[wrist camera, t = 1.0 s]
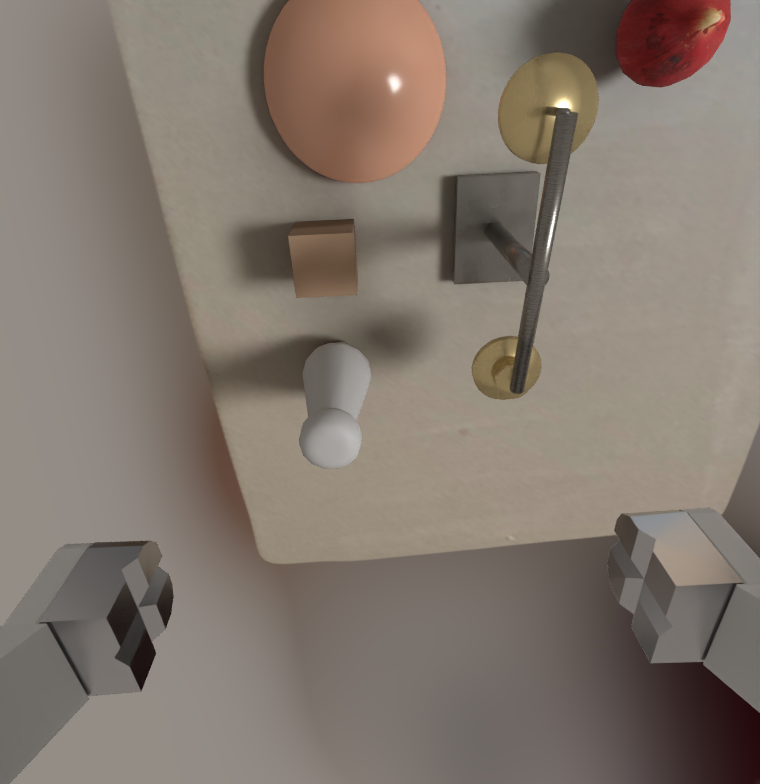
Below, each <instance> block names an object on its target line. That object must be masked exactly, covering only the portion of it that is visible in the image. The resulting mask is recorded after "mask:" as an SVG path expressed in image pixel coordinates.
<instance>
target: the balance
mask: <svg viewBox="0 0 760 784" xmlns="http://www.w3.org/2000/svg"><path fill="white" fill-rule="evenodd" d="M598 102H599V97H598V87H597V83H596V80H595V78H594V75H593V73H592V72H591V70H590V68H589V67H588V66H587V65H586V64H585V63H584V62H583V61H582V60H581V59H579V58H577V57H575V56H573V55H571V54H567V53H559V52H555V53H548V54H544V55H540V56H537V57H535V58H533V59H531V60H529V61H528V62H526V63H525V64H524V65H522V66H521V67H520V68H519V69H518V70H517V71H516V72H515V73H514V74H513V76H512V77H511V78H510V80H509V81H508V83H507V85H506V87H505V89H504V91H503V93H502V96H501V99H500V103H499V109H498V125H499V130H500V134H501V137H502V139H503V141H504V143H505V145H506V146H507V147H508V149H509V150H510V151H511V152H512V153H513V154H514V155H516V156H517V157H519V158H521V159H523V160H525V161H528V162H531V163H536V164H546V163H547V169H546V175H545V181H544V187H543V193H542V199H541V205H540V211H539V217H538V222H537V228H536V234H535V240H534V246H533V237H534V228H535V219H536V210H537V201H538V192H539V183H540V174H541V173H539V172H537V171H535V172H516V173H496V174H476V175H457V176H456V181H455V214H454V247H453V279H452V280H453V283H454V284H470V283H489V282H509V281H524V282H525V284H526V285H527V287H526V293H525V299H524V305H523V311H522V317H521V323H520V329H519V335H518V337H515V336H505V337H500V338H497V339H494V340H492V341H490V342H489V343H487V344H486V345H484V346H483V347H482V348H481V349H480V350H479V352H478V353H477V354H476V356H475V358H474V360H473V364H472V376H473V379H474V382H475V384H476V386H477V388H478V389H479V390H480V391H481V392H482V393H483V394H485V395H486V396H488V397H491V398H494V399H502V400H505V399H515V398H519V397H521V396H523V395H524V394H525V393H527V391H528V390H529V389H530V388H532V386H533V385H534V384H535V383H536V381H537V380H538V378H539V375H540V373H541V359H540V356H539V354H538V352H537V350H536V349H535V347H534V346H533V343H534V338H535V333H536V328H537V323H538V318H539V313H540V307H541V302H542V297H543V292H544V287H545V285H546V283H547V282H548V280H549V271H548V266H549V261H550V256H551V251H552V246H553V241H554V236H555V231H556V225H557V220H558V215H559V210H560V205H561V200H562V195H563V190H564V184H565V179H566V174H567V169H568V164H569V159H570V154H571V153H572V152H573V151H575V150H576V149H577V148H578V147H579V146H580V145H581V144H582V142H583V141H584V140H585V138H586V137H587V136H588V134H589V132H590V130H591V128H592V126H593V124H594V121H595V118H596V115H597V110H598ZM532 246H533V252H532Z"/></svg>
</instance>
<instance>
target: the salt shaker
mask: <svg viewBox="0 0 760 784" xmlns="http://www.w3.org/2000/svg"><path fill="white" fill-rule="evenodd" d="M370 379H371V371H370V367H369V362H368V360H367V359H366V357H365V356H364V355H363V354H362V353H361V352H360V351H359V350H358V349H357V348H355V347H352V346H350V345H348V344H347V343H345V342H344V341H341V342H336V343H328V344H325V345H322V346H320V347H318V348H316V349H315V350H314V351H313V352H312V353H311V355H310V356H309V357H308V358H307V360H306V361H305V366H304V370H303V382H304V389H305V397H306V404H307V412H308V418H307V419H306V420H305V421H304V423H303V425H302V429H301V433H300V437H299V444H300V447H301V450H302V453H303V456H304V457H305V458H306V459H307V460H308V461H309V462H310V463H312V464H314V465H316V466H319V467H322V468H330V469H337V468H340V467H343V466H345V465H348V464H350V463H351V462H352V461H353V460H354V459H355V458H356V457H357V456H358V452H359V449H360V445H361V442H362V435H361V431H360V427H359V423H358V422H357V419H358V416H359V413H360V410H361V407H362V404H363V402H364V399H365V396H366V393H367V390H368V387H369V383H370Z"/></svg>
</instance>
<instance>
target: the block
mask: <svg viewBox="0 0 760 784" xmlns="http://www.w3.org/2000/svg"><path fill="white" fill-rule="evenodd" d="M288 240H289V247H290V255H291V262H292V270H293V277H294V285H295V292H296V298H302V297H323V296H343V295H357V282H358V273H357V258H356V243H355V228H354V219H345V220H325V221H305V222H295V224H294V226H293V228H292V230H291V231H290V233H289V235H288Z"/></svg>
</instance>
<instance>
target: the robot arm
mask: <svg viewBox="0 0 760 784" xmlns="http://www.w3.org/2000/svg"><path fill="white" fill-rule="evenodd" d="M614 531H615V533H616V534H617V536H618V538H619V541H618V542H617V543H616V544H615V545H614V546H613V547H611V548H610V551H609V556H608V562H607V565H608V574H609V580H610V583H611V587H612V590H613V592H614V594H615V596H616V598H617V600H618V602H619V604H621V605H622V606H624V607H625V608H626V609H628V610H629V611H630V612H632V613H633V614H634V617H633V622H632V625H631V627H632V629H633V631H634V633H635V635H636V637H637V638H638V640H639V642H640V644H641V646H642V648H643V650H644V652H645V654H646V655H647V658H648V659H649V661H650V663H671V662H672V663H673V662H704V663H703V665H704V666H706V667H707V668H708V669H709V670H710V671H712V672H713V673H714V674H715V675H716V676H717V677H719V678H720V679H721V680H722V681H723V682H724V683H726V684H727V685H728V686H729V687H730V688H731V689H733V690H734V691H735V692H736V693H737V694H738V695H740V696H741V697H742V698H743V699H744V700H746V701H747V702H748V703H749V704H750V705H752V706H753V707H754V708H755V709H756V710H757V711H758V712H760V559H759V557H758V556H757V555H756V554H755V553H754V552H753V551H752V550H751V548H749V546H747V544H746V543H745V542H744V541H743V540H742V539H741V537H740V536H739V535H738V534H737V533H736V532H735V531H734V529H733V528H732V527H731V526H730V525H729V524H728V523H727V522H726V521H725V520H724V518H723V517H722V516H721V515H720V514H719V513H718V512H717V511H715V510H713V509H711V508H695V509H681V510H668V511H653V512H638V513H623V514H621V515H620V516H619V517H618V519H617V521H616V525H615V529H614ZM161 558H162V554H161V552H160V549H159V547H158V544H157V542H153V541H126V542H95V543H86V544H85V543H83V544H66V545H64V546H63V547H61V548H59V549H58V550H57V551H56V552H55V554H54V555H53V556H52V558H51V559H50V561H49V562H48V563H47V565H46V566H45V568H44V569H43V570H42V572H41V573H40V575H39V576H38V578H37V579H36V580H35V582H34V583H33V585H32V586H31V587H30V589H29V590H28V591H27V593H26V594H25V596H24V597H23V598H22V600H21V601H20V603H19V604H18V605H17V607H16V608H15V610H14V611H13V613H12V614H11V615H10V617H9V618H8V619H7V621H6V622H5V624H4V625H3V626H0V784H10V783H11V782H12V781H13V780H14V779H15V778H16V777H17V775H18V774H19V773H20V772H21V771H22V770H23V769H24V768H25V767H26V766H27V765H28V764H29V763H30V762H31V760H32V759H33V758H34V757H35V756H36V755H37V754H38V753H39V752H40V751H41V750H42V749H43V748H44V747H45V746H46V745H47V743H48V742H49V741H50V740H51V739H52V738H53V737H54V736H55V735H56V734H57V733H58V732H59V731H60V730H61V729H62V728H63V727H64V725H65V724H66V723H67V722H68V721H69V720H70V719H71V718H72V717H73V716H74V715H75V713H77V712H78V710H80V708H81V707H82V706H83V705H84V704H85V703H86V702H87V701H88V700H89V697H88V696H97V695H107V694H119V693H132V692H141V691H142V688H143V686H144V683H145V680H146V678H147V676H148V673H149V671H150V668H151V665H152V663H153V660H154V658H155V655H156V651H155V649H154V646H153V643H152V641H153V640H154V639H155V638H156V637H158V636H159V635H160V634H161V633H162V632H163V631H164V630H165V629H166V627H167V624H168V621H169V619H170V615H171V612H172V604H173V597H174V596H173V586H172V582H171V579H170V576H169V574H168V573H167V572H165V571H164V570H162V569H161V568H160V567H158V565H159V562H160V560H161Z"/></svg>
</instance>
